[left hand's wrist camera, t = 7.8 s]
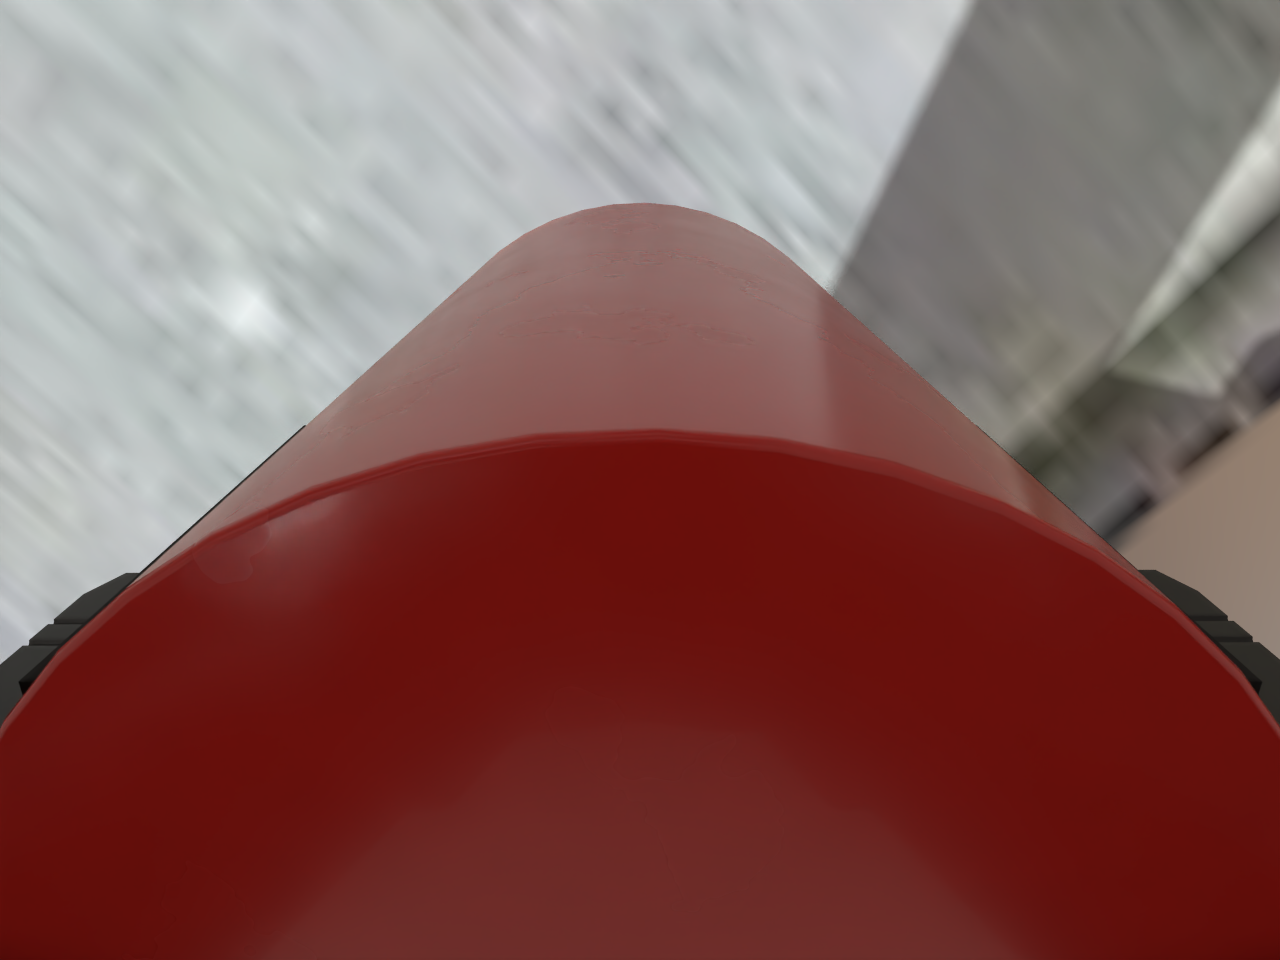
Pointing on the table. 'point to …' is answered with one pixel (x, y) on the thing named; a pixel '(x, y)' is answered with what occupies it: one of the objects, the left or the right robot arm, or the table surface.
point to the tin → (640, 666)
